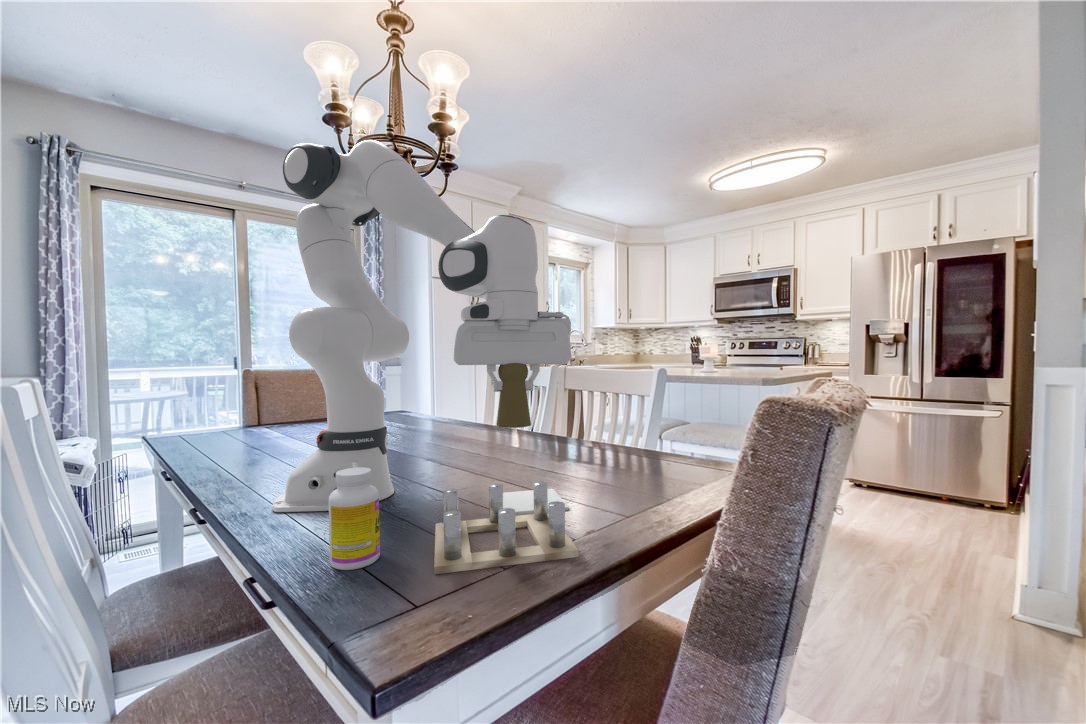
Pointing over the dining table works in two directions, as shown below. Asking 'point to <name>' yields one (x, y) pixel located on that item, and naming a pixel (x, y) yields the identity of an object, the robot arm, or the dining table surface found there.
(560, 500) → the mat
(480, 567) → the board
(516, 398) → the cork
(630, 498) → the dining table surface
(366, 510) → the supplement bottle
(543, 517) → the steel spacers
